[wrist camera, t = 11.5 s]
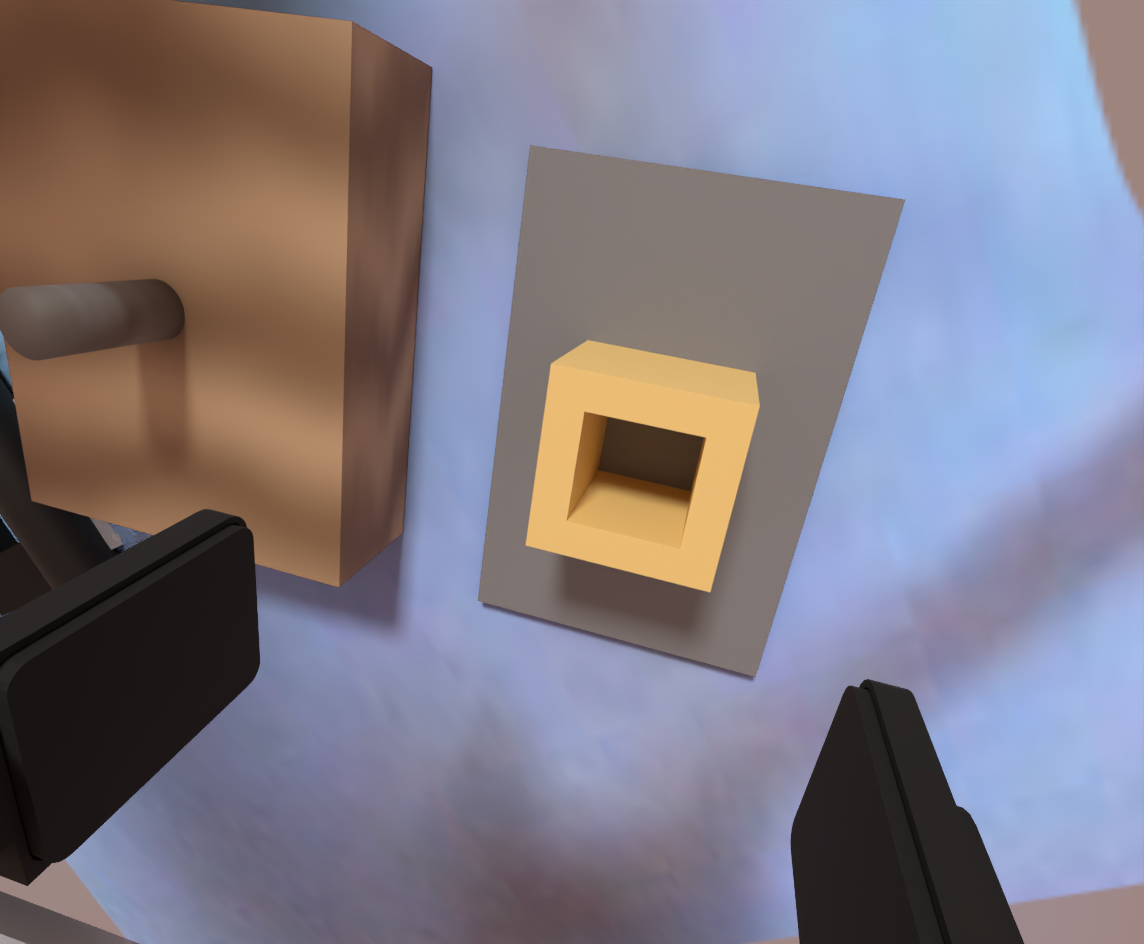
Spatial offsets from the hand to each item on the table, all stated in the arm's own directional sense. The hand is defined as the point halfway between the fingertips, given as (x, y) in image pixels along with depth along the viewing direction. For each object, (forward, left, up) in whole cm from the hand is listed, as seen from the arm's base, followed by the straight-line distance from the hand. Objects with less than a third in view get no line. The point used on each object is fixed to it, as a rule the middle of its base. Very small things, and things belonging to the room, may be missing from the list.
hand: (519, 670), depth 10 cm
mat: (+1, 0, -16) cm, 16 cm away
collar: (+1, 0, -15) cm, 15 cm away
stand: (-1, -17, -16) cm, 23 cm away
